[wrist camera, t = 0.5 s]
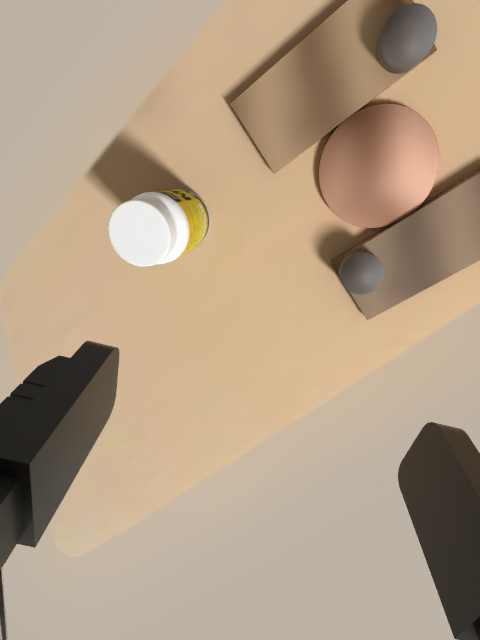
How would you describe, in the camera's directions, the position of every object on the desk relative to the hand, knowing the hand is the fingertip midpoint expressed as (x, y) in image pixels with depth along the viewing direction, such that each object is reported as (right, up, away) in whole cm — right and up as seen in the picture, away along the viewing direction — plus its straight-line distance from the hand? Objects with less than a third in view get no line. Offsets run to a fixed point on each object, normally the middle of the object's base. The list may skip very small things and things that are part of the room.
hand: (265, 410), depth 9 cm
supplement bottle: (-5, +11, +20) cm, 23 cm away
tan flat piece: (+9, +13, +16) cm, 23 cm away
